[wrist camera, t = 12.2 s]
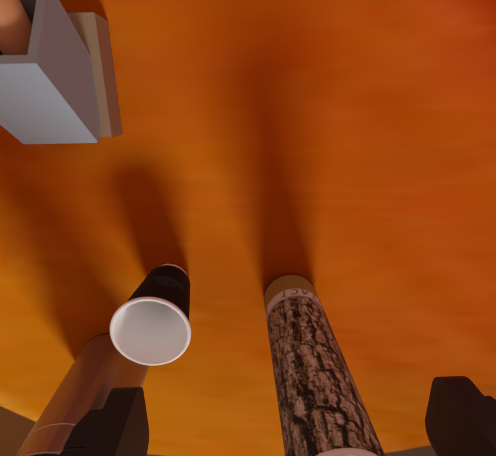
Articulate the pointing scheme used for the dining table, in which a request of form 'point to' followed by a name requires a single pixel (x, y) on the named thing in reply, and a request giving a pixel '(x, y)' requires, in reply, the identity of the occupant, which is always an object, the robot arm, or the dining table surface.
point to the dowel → (14, 28)
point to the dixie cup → (155, 318)
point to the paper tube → (313, 377)
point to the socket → (60, 79)
